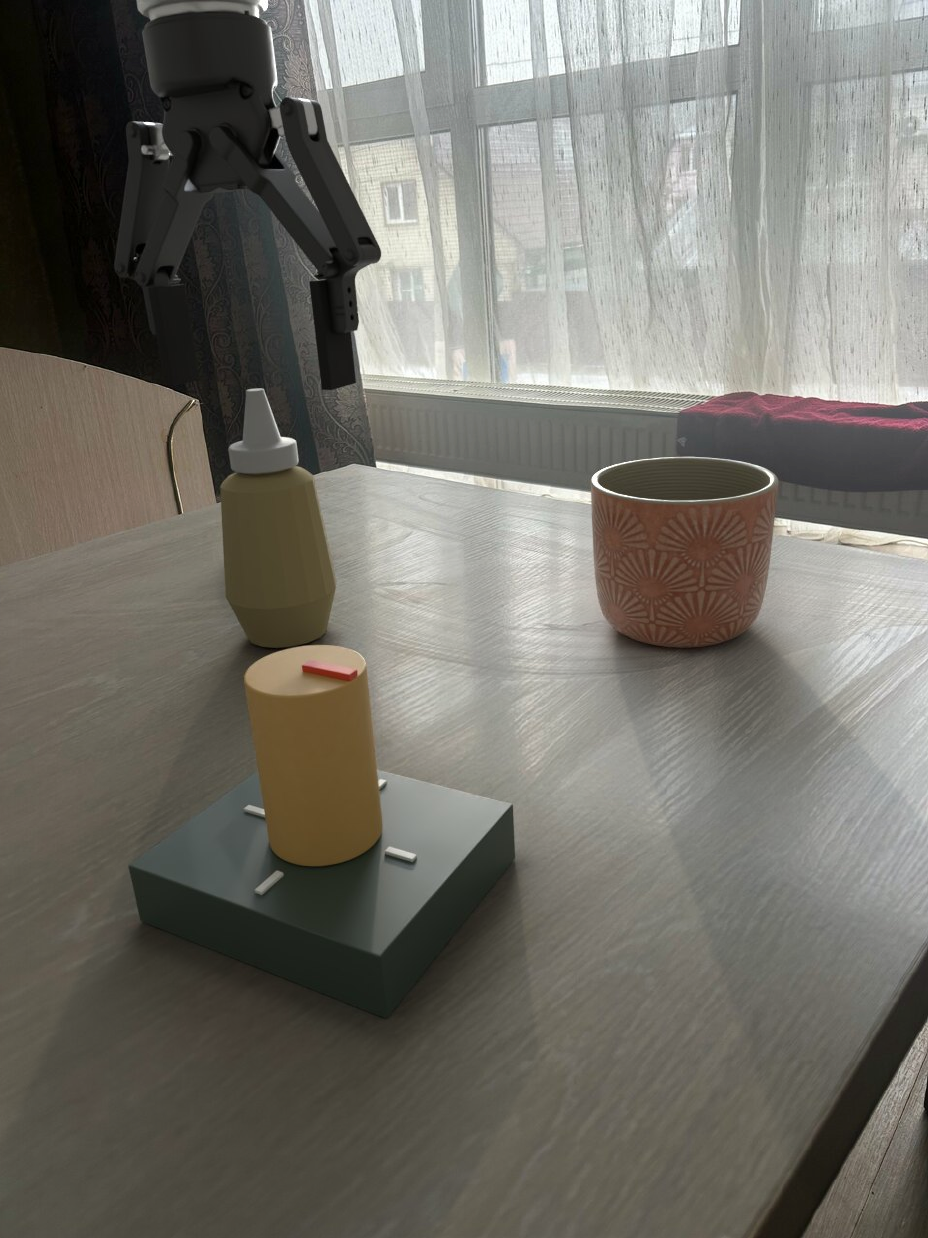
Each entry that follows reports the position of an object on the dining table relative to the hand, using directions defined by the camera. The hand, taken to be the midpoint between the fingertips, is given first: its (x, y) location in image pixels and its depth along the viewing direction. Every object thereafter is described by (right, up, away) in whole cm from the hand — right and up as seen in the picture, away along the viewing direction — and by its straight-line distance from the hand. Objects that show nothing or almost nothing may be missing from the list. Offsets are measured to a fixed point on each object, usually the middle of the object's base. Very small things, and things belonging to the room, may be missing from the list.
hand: (257, 385), depth 65 cm
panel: (+8, -28, -21) cm, 36 cm away
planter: (+29, -16, +4) cm, 34 cm away
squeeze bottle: (+1, -17, +7) cm, 19 cm away
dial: (+8, -25, -22) cm, 35 cm away
